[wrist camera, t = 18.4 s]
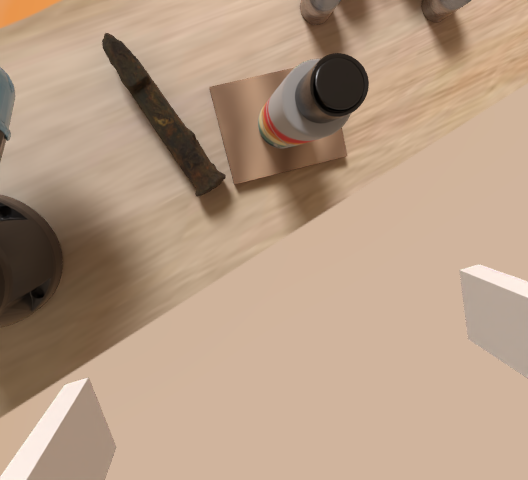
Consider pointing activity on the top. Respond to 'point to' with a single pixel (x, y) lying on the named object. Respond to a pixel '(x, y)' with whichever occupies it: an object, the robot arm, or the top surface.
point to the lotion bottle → (313, 101)
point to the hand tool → (163, 117)
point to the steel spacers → (323, 3)
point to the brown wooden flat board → (249, 138)
